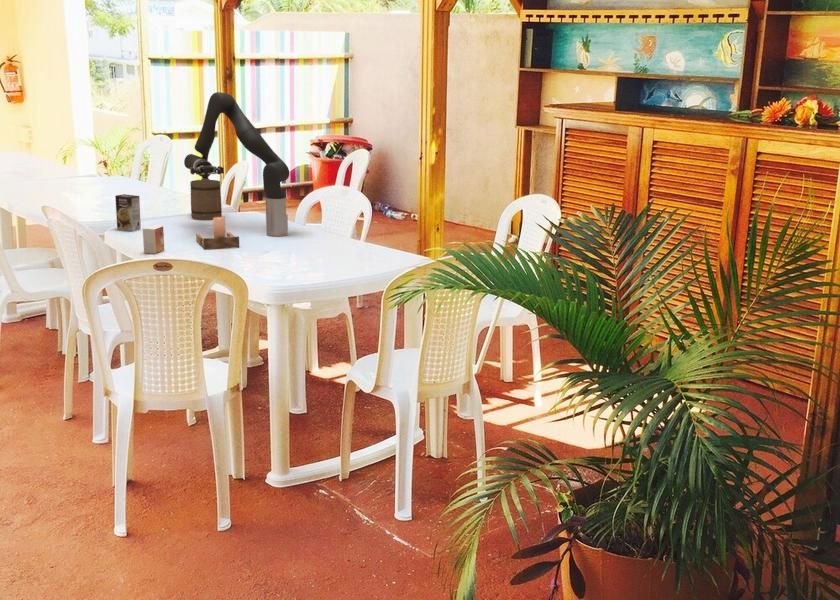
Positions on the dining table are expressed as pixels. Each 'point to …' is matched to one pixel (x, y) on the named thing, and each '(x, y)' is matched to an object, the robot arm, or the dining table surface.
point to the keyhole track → (218, 242)
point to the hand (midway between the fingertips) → (210, 172)
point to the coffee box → (128, 212)
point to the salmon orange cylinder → (219, 227)
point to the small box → (153, 239)
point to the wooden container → (205, 199)
